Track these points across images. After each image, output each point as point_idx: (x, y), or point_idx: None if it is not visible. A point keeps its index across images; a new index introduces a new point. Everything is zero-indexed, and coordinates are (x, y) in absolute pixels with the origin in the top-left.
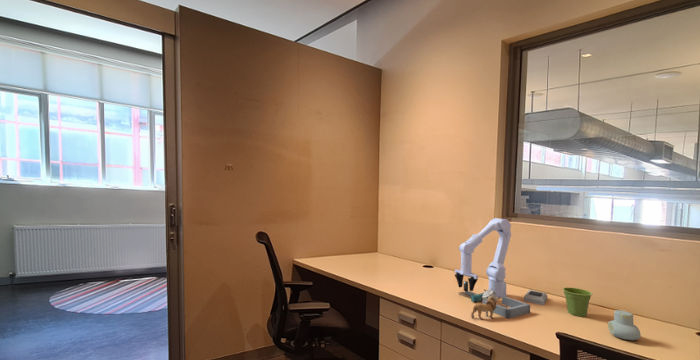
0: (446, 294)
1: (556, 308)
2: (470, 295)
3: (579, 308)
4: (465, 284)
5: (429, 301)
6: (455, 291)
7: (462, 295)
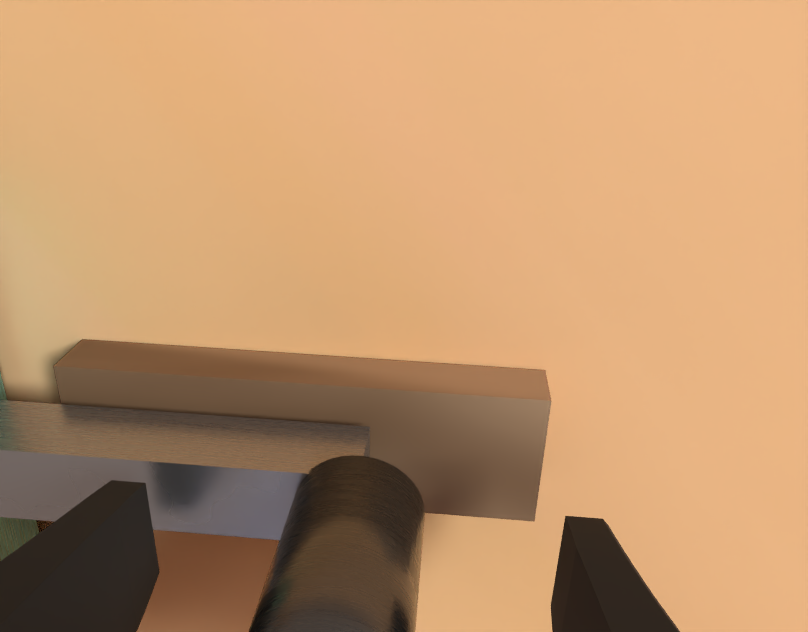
0: (772, 29)
1: None
2: None
3: None
4: (276, 630)
5: None
6: (757, 491)
7: (424, 365)
